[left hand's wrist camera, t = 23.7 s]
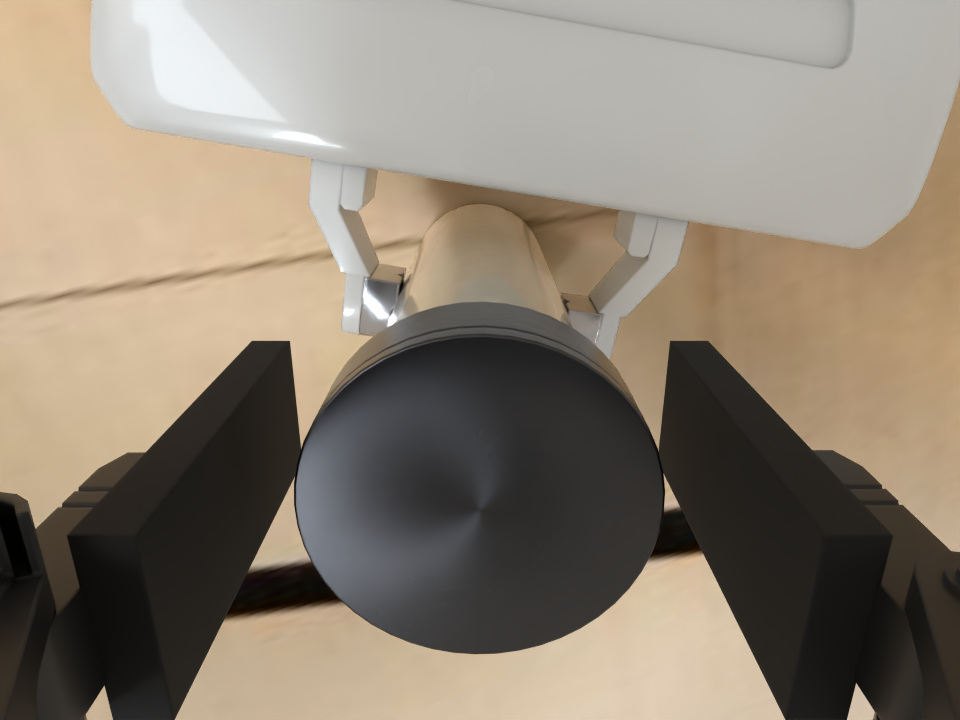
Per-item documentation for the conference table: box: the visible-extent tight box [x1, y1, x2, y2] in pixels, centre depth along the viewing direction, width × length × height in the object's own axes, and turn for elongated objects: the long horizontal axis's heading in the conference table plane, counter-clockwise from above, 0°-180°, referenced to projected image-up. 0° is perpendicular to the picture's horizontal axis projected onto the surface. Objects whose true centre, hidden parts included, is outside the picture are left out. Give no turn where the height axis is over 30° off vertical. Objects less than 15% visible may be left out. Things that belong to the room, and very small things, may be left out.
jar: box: [386, 204, 573, 328], centre depth 18 cm, size 5×5×15 cm
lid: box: [294, 302, 665, 654], centre depth 11 cm, size 6×6×2 cm
